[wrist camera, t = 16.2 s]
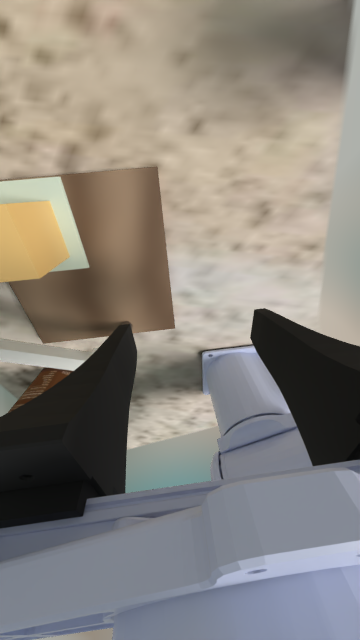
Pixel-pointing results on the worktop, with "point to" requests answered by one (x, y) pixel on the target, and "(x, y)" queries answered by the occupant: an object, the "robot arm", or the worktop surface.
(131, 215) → the brown tray
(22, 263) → the plug block
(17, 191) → the sage mat
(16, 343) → the strap
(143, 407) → the worktop surface
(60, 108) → the worktop surface
